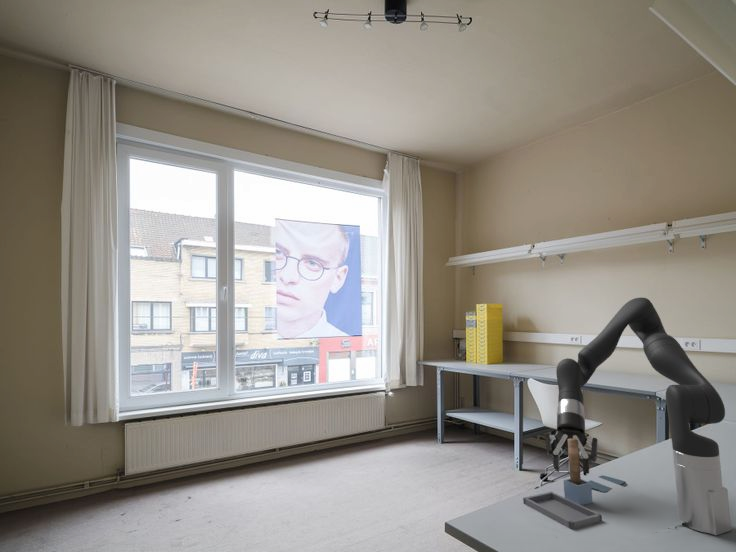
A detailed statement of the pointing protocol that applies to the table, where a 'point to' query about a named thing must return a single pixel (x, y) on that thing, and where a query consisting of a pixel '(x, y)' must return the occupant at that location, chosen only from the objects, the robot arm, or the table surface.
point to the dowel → (574, 461)
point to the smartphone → (604, 488)
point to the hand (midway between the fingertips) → (570, 472)
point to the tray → (562, 510)
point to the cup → (578, 492)
